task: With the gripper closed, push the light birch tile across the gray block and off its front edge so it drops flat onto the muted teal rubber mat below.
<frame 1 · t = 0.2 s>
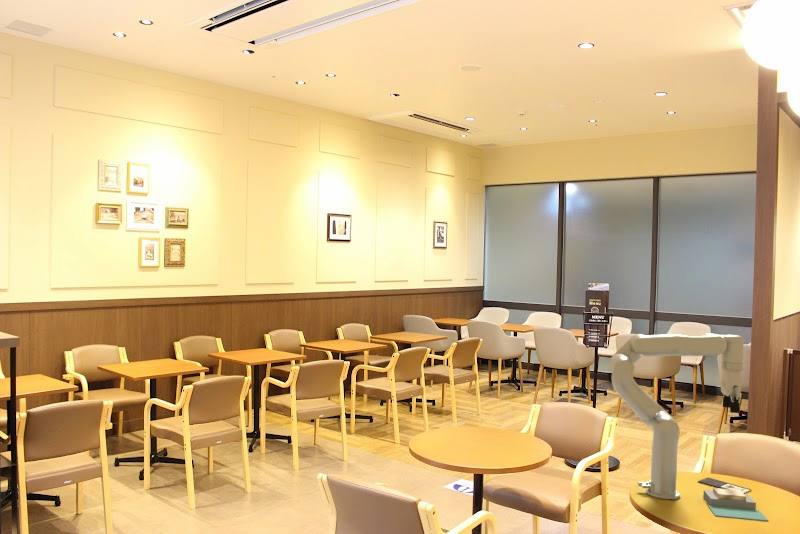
hand: (730, 409, 260), 36 cm above the table, tool pointing down, fingers open, 9 cm apart
birch tile: (729, 496, 256), point 3 cm above the table, touching gray block
teal mat: (737, 513, 246), on the table
gray block: (728, 503, 257), on the table
chocolate bar: (724, 487, 277), on the table
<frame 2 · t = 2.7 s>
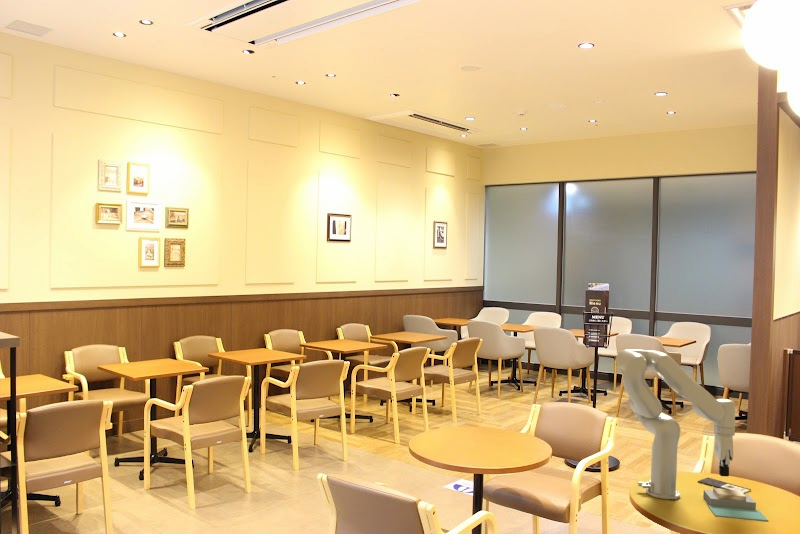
hand: (724, 475, 266), 8 cm above the table, tool pointing down, fingers closed
nothing on the table moved.
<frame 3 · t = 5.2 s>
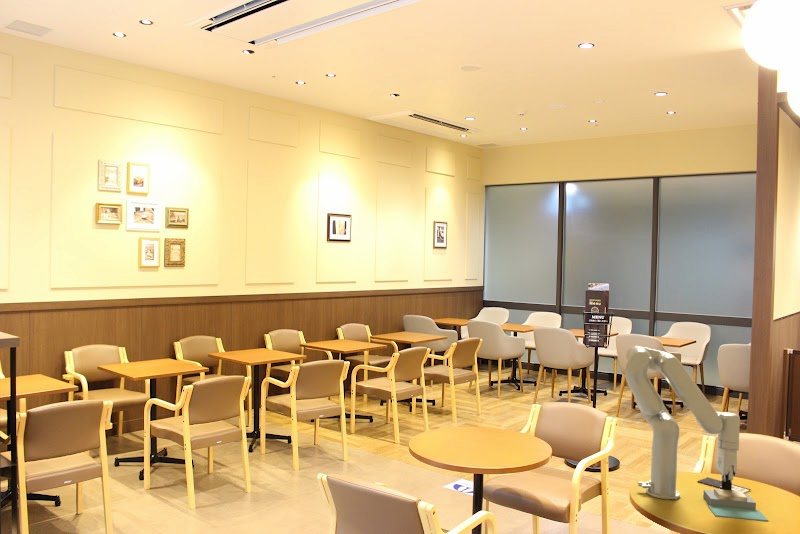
hand: (726, 491, 260), 4 cm above the table, tool pointing down, fingers closed
birch tile: (730, 497, 255), point 3 cm above the table, touching gripper
everything else where it was.
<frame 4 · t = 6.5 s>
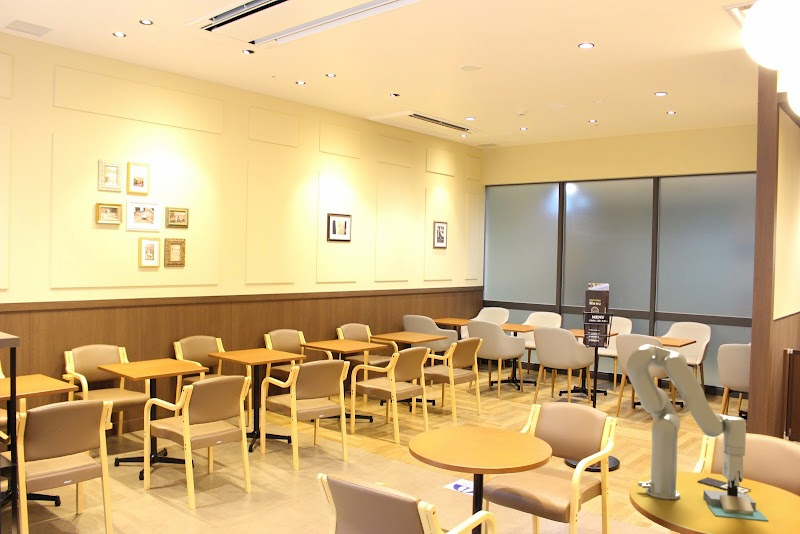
hand: (732, 497, 253), 4 cm above the table, tool pointing down, fingers closed
birch tile: (735, 506, 249), point 2 cm above the table, tilted 24°, touching gripper
everything else where it was.
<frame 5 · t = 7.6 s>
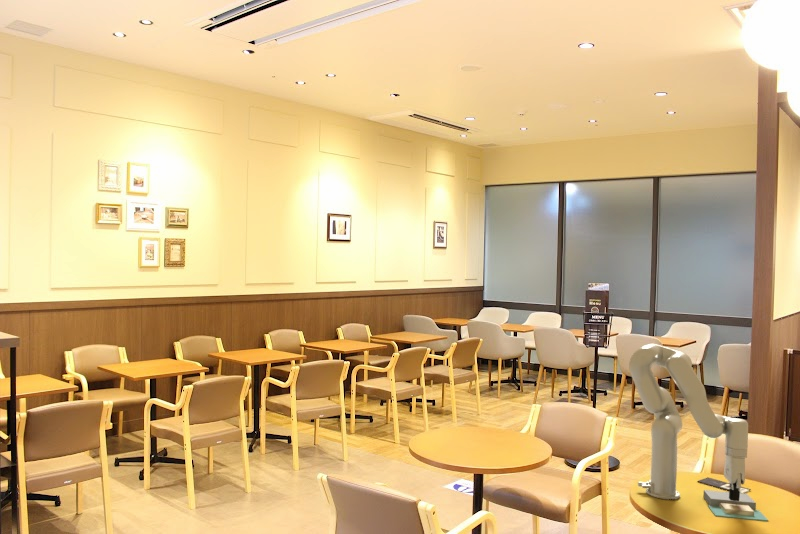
hand: (734, 499, 251), 4 cm above the table, tool pointing down, fingers closed
birch tile: (736, 511, 248), resting on teal mat
everything else where it was.
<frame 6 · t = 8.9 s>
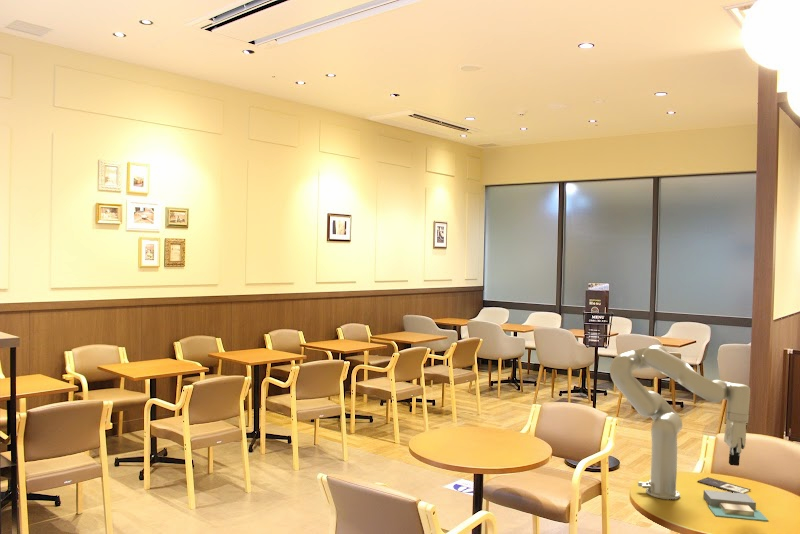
hand: (733, 464, 251), 17 cm above the table, tool pointing down, fingers closed
nothing on the table moved.
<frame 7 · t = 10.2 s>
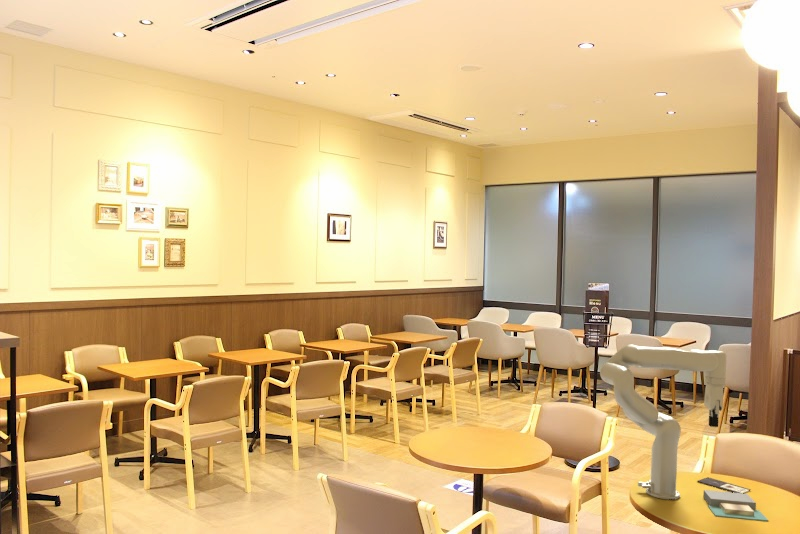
hand: (713, 426, 269), 27 cm above the table, tool pointing down, fingers closed
nothing on the table moved.
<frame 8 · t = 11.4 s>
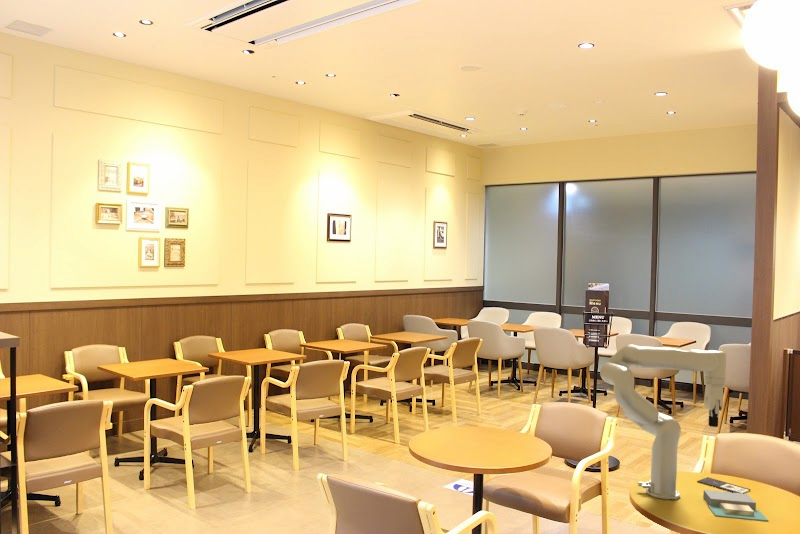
hand: (713, 426, 269), 27 cm above the table, tool pointing down, fingers closed
nothing on the table moved.
at the end: birch tile inside the target area (2.1 cm from its centre), resting on teal mat; birch tile tilted 0°; birch tile touching teal mat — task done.
